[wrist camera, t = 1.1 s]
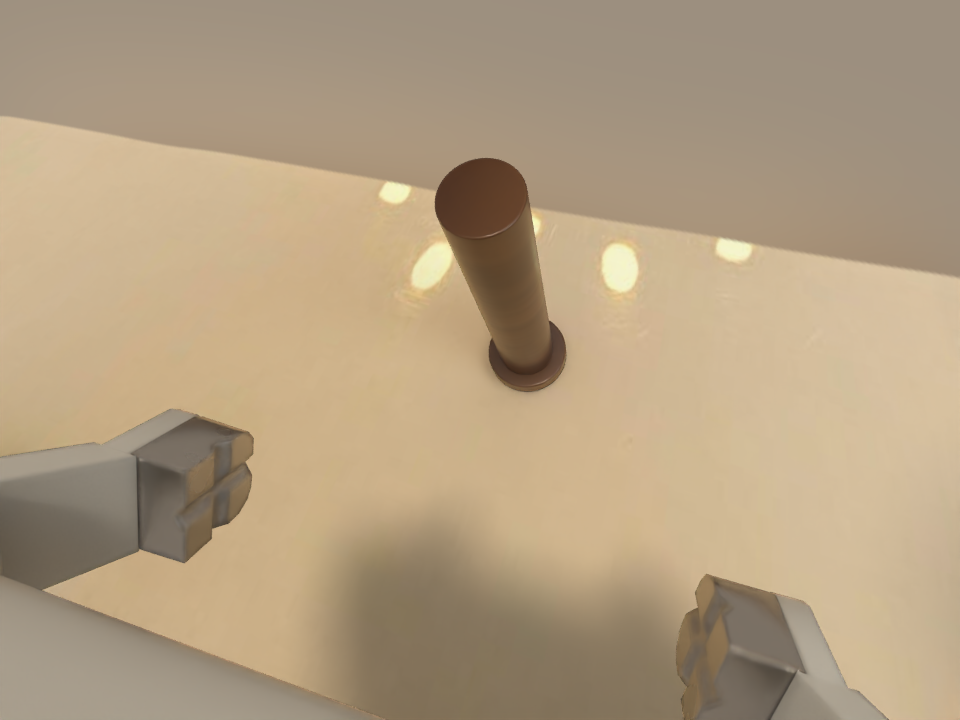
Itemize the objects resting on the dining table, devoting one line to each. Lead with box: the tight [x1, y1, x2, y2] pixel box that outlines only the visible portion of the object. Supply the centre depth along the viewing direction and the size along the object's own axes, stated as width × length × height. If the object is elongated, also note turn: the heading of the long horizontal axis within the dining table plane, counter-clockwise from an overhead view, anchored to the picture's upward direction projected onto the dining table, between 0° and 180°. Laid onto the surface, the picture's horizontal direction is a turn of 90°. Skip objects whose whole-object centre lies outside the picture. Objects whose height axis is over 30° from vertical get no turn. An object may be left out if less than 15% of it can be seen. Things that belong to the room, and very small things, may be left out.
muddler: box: [435, 158, 566, 391], centre depth 25 cm, size 4×4×16 cm
